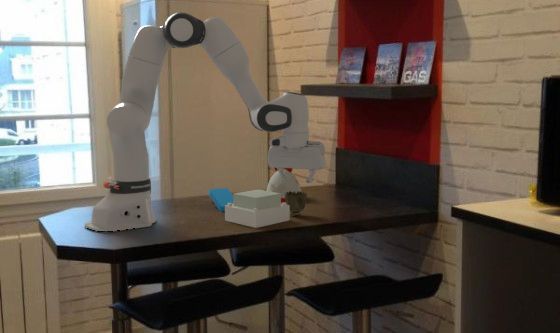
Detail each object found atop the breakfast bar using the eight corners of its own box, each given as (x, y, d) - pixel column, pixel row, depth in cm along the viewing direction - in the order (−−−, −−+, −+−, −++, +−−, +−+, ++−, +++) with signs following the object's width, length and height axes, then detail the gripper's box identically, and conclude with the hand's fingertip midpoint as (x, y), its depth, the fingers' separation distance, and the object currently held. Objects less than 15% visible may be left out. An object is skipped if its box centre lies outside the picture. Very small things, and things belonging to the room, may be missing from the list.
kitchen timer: (292, 203, 239) (292, 163, 237) (259, 200, 245) (259, 161, 242) (307, 197, 251) (307, 159, 249) (275, 194, 257) (275, 157, 255)
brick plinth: (255, 227, 200) (255, 199, 198) (225, 220, 210) (224, 193, 209) (289, 220, 210) (289, 193, 209) (258, 213, 221) (258, 188, 219)
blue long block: (238, 222, 229) (222, 200, 244) (239, 204, 226) (223, 183, 241) (219, 224, 226) (205, 202, 241) (221, 206, 224) (206, 185, 239)
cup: (290, 212, 222) (290, 190, 221) (310, 214, 219) (310, 191, 218) (281, 216, 215) (281, 193, 214) (301, 218, 212) (301, 195, 211)
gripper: (328, 140, 211) (328, 181, 213) (273, 139, 221) (274, 178, 223) (320, 142, 206) (321, 184, 208) (265, 140, 215) (266, 181, 217)
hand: (296, 181), depth 215 cm, fingers open, 8 cm apart
